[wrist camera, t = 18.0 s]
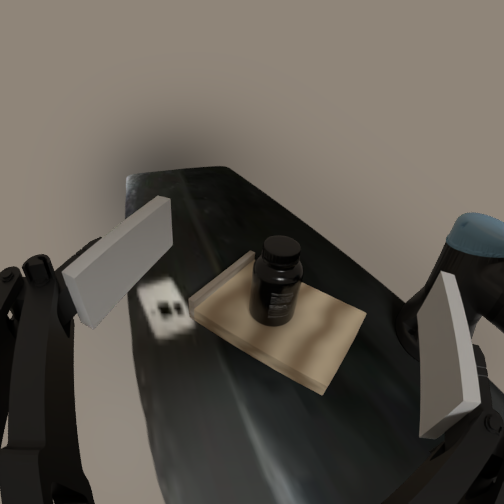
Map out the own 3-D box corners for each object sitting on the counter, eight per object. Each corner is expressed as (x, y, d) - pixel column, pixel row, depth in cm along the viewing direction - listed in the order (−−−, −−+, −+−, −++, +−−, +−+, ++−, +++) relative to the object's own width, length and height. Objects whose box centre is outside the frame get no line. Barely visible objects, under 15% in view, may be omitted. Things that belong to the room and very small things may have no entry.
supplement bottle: (298, 304, 47) (315, 240, 40) (285, 334, 42) (302, 269, 35) (258, 290, 49) (266, 225, 42) (240, 318, 44) (247, 251, 37)
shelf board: (361, 323, 48) (369, 306, 45) (322, 395, 37) (331, 380, 34) (247, 267, 57) (249, 249, 55) (188, 316, 46) (186, 297, 44)
